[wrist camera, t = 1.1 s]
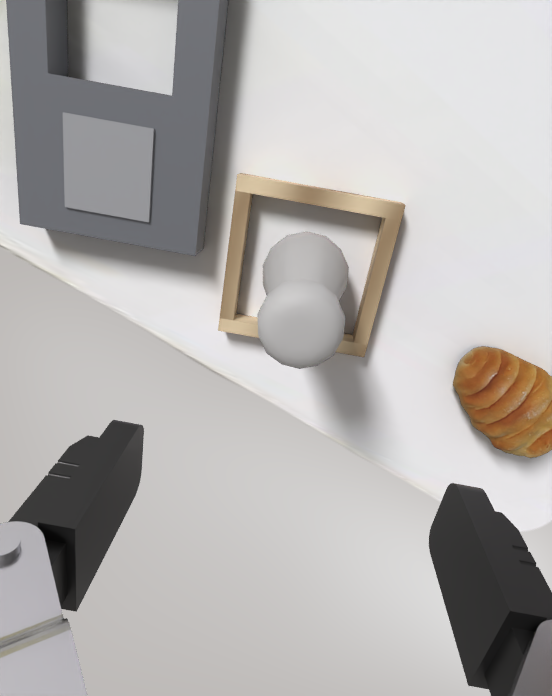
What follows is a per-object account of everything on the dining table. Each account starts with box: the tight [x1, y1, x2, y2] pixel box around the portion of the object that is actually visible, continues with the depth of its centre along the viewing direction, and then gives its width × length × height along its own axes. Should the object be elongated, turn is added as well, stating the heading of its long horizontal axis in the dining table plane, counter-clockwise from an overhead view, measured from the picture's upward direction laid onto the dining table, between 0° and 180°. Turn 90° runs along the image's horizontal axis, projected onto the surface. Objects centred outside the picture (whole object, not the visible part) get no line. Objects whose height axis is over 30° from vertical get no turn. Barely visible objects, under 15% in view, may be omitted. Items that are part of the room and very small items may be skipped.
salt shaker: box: [258, 232, 349, 369], centre depth 27 cm, size 6×6×13 cm
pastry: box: [453, 346, 552, 458], centre depth 35 cm, size 9×7×4 cm
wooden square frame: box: [218, 173, 405, 357], centre depth 33 cm, size 11×11×2 cm
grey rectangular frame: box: [6, 0, 228, 256], centre depth 28 cm, size 12×18×3 cm, turn 170°
